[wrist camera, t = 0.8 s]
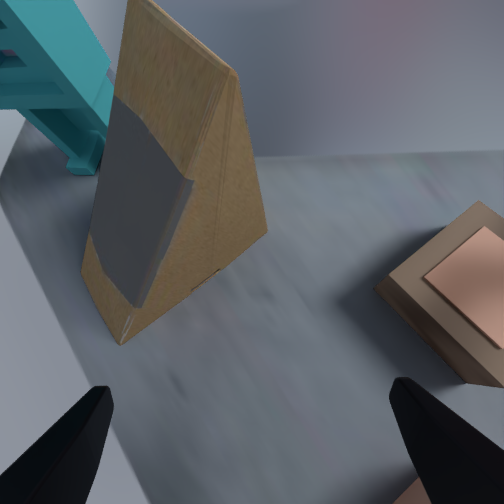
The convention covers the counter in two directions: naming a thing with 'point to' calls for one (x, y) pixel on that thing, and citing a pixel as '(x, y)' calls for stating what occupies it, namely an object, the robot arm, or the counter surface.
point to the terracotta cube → (414, 494)
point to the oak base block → (457, 295)
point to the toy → (56, 77)
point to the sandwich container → (168, 175)
